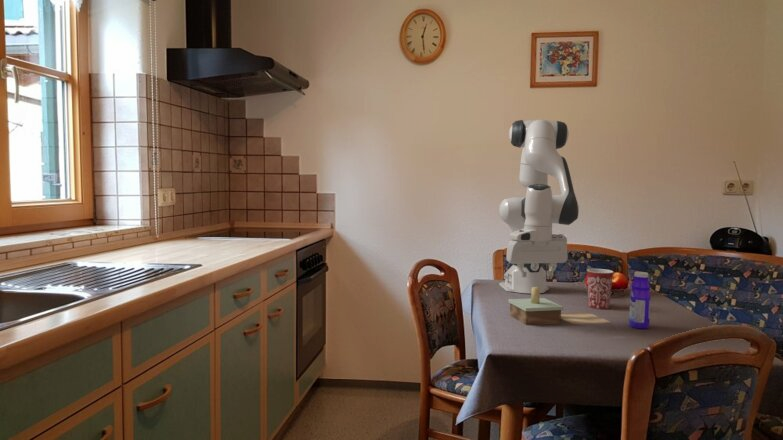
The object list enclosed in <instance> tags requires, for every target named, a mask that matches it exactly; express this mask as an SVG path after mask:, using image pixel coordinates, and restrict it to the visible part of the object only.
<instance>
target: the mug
mask: <svg viewBox="0 0 783 440" xmlns="http://www.w3.org/2000/svg"><path fill="white" fill-rule="evenodd" d="M614 273H615V272H614V271H613V270H611V269H604V268H588V269H587V299H588V300H587V305H588V306H587V307H589V308H591V309H596V310H607V309H610V301H611V294H612V286H613V285H612V284H613V277H614V276H613V275H614Z"/></svg>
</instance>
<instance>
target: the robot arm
mask: <svg viewBox="0 0 783 440" xmlns="http://www.w3.org/2000/svg"><path fill="white" fill-rule="evenodd" d="M508 137H509V140H510V144H511V145H512V146H513V147H516V148H522V150H521V156H520V163H519V164H520V166H519V175H518V180H519V184H520V185H521V186H522V187H524V188H526V193H525V196H513V197H508V198H504V199H503V200H502V201H501V202H500V204H499V207H498V214H499V216H500V219H501V220H502V221H503V222H504V223H505V224H507V225H508V227H509V228H510V229H511V232H510V233H509V236H508V237H509V239H510V241H509V242H508V244H507V247H506V248H507V249H506V255H505V256H506V258H505V259H506V261H507V262H508V263H509V264H512V265H511V266H510V267H509V268H508V270H507V271H505V273H504V274H503V280H504V281H501V282H499V284H498V285H499V286H500V287H501V288H502V289H504V290H505V291H506V292H512V293H518V294H519V293H520V294H530V295H531V293H532V287H539V288H540V294H543V293H546V291H549V289H550V288H549V286H547V277H549V278H551V277H554V272H555V270H556V268H557V267H558V264H565V263H566V262H567V261H568V258H569V257H568V248H567V247H568V239H567V237H566V236H565V235H564V234H553V224H559V225H564V226H569V225H571V224H573V223H574V222H575V221H577V220H578V218H579V213H580V206H579V202H578V200H577V197H576V193H575V189H574V185H573V180H572V177H571V171H570V170H569V165H568V162H567V160H566V158H565V157H564V156H563V155H561V154H559V151H558V150H560V149H562V148H563V147H565V146H566V145H567V144H566V143H567V141H568V139H569V137H570V136H569V128H568V125H567V124H566V122H563V121H561V120H560V121H559V120H557V121H556V120H555V121H554V120H548V119H541V118H540V119H529V120H523V119H520V120H519V119H518V120H515V121H514V122H513V123H512V124H511V126H510V128H509V130H508ZM548 175H550V176H552V177H554V178H555V179H556V180H557V181H558V184H559V186H558V187H559V189H560V193H561V194H553V191H552V187H551V186H550V185H549V184H548V182H549V181H548V178H549V176H548ZM544 264H549V266H550V267H549V269H548V270H545V269H544V268H543V267H544ZM546 276H547V277H546Z"/></svg>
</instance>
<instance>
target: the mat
mask: <svg viewBox="0 0 783 440" xmlns="http://www.w3.org/2000/svg"><path fill="white" fill-rule="evenodd" d="M561 320H562V321H564V322H566V323H569V324H571V325H588V324H610V325H611V324H613V323H612V321H609V320H607V319H605V318H602V317H601V316H597V315H595V314H593V313H591V312H589V311H584V312H583V311H582V312H581V311H579V312H561Z"/></svg>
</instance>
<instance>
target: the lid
mask: <svg viewBox="0 0 783 440" xmlns="http://www.w3.org/2000/svg"><path fill="white" fill-rule="evenodd" d="M530 295H531V296H530V297H531V298H530V297H529V298H510V299H509V298H508V299H507V300H508V303H509V304H510V303H511V304H513V305H515V306H516V307H518V308H520V309H522V310H524V311H548V310H561V311H564V306H563V305H561V304H558V303H556V302H553V301H552V300H550V299H547V298H545V297H541V293H540V288H539V287H532V293H531V294H530Z"/></svg>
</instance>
